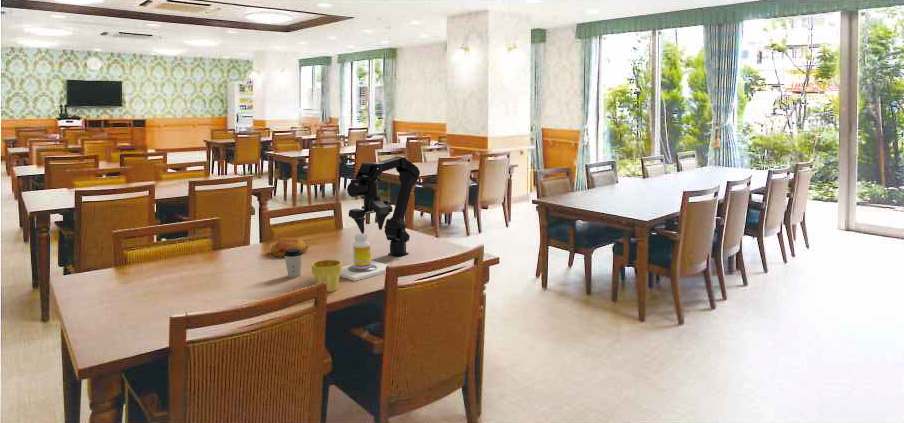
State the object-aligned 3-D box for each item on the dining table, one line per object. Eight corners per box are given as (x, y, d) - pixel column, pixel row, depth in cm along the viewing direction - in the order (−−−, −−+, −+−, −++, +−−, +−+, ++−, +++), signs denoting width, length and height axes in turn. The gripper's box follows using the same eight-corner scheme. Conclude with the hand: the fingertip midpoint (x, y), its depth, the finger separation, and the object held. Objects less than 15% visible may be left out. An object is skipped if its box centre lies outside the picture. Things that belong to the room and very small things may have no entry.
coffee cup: (307, 274, 242) (306, 248, 240) (297, 279, 235) (295, 253, 233) (291, 272, 244) (290, 247, 242) (281, 277, 238) (279, 252, 236)
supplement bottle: (373, 268, 243) (371, 236, 241) (356, 270, 240) (355, 238, 238) (368, 264, 249) (367, 232, 247) (351, 266, 246) (350, 234, 244)
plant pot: (316, 295, 215) (314, 268, 214) (310, 287, 225) (308, 261, 223) (346, 291, 220) (344, 264, 218) (338, 284, 229) (337, 258, 227)
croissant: (280, 253, 283) (277, 236, 282) (312, 250, 279) (309, 232, 278) (265, 261, 269) (261, 243, 268) (298, 257, 265) (295, 239, 264)
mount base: (369, 262, 257) (369, 259, 257) (395, 269, 247) (395, 266, 246) (329, 273, 243) (329, 269, 243) (355, 281, 232) (355, 277, 232)
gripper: (365, 198, 240) (366, 238, 243) (401, 193, 253) (402, 230, 256) (347, 195, 247) (348, 234, 250) (383, 190, 261) (384, 227, 264)
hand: (371, 231), depth 255 cm, fingers open, 9 cm apart
